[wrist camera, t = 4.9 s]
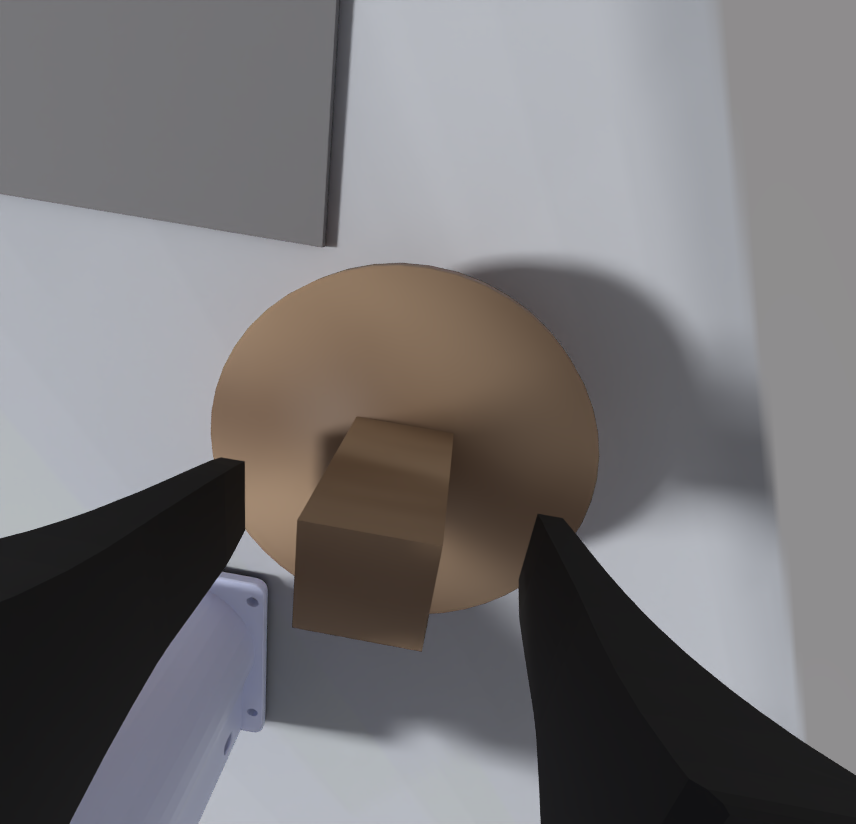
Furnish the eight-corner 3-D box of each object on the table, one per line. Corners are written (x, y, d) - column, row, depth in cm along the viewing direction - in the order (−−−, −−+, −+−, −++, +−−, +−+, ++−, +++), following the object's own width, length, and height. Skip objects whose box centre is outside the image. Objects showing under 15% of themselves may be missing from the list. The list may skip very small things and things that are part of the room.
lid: (540, 621, 16) (570, 808, 11) (228, 563, 16) (118, 721, 11) (645, 301, 12) (771, 369, 7) (220, 230, 12) (37, 245, 7)
